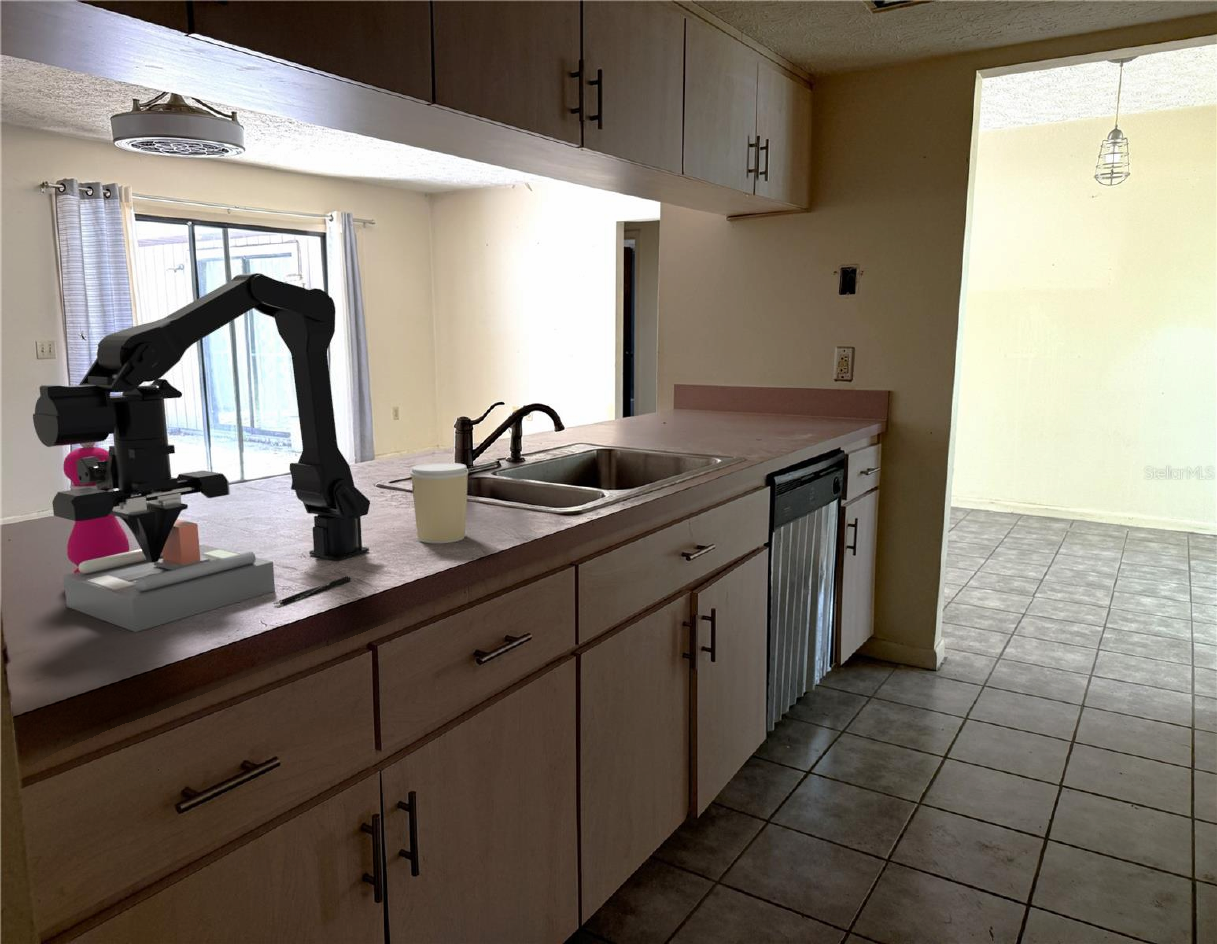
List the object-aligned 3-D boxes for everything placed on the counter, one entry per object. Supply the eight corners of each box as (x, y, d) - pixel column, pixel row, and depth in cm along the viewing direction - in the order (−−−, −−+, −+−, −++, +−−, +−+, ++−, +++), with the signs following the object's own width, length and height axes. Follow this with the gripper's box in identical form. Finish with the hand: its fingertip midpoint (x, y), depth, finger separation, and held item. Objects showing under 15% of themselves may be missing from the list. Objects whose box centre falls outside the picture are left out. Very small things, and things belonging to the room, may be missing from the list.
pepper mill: (142, 572, 116) (129, 432, 113) (113, 588, 109) (98, 438, 105) (90, 572, 116) (75, 432, 112) (58, 588, 109) (41, 439, 105)
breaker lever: (187, 557, 108) (183, 517, 107) (210, 563, 105) (206, 522, 104) (153, 565, 105) (150, 524, 104) (176, 571, 102) (172, 529, 101)
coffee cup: (436, 528, 142) (434, 460, 140) (481, 534, 138) (479, 464, 136) (400, 540, 134) (397, 468, 132) (447, 547, 130) (444, 473, 128)
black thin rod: (278, 609, 101) (278, 602, 101) (273, 608, 102) (272, 600, 102) (351, 583, 112) (351, 576, 112) (346, 582, 112) (345, 575, 112)
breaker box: (204, 571, 116) (201, 533, 115) (274, 590, 108) (272, 549, 107) (66, 606, 101) (61, 562, 100) (135, 632, 93) (130, 584, 92)
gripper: (178, 425, 111) (188, 537, 114) (23, 441, 96) (38, 569, 98) (227, 431, 105) (236, 548, 108) (69, 448, 90) (85, 585, 92)
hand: (153, 561), depth 102 cm, fingers closed
